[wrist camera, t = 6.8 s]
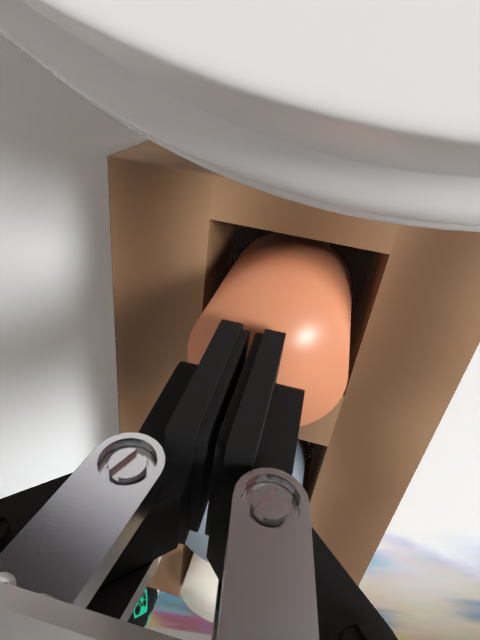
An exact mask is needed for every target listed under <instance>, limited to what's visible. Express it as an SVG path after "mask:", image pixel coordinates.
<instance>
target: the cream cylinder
mask: <svg viewBox="0 0 480 640" xmlns="http://www.w3.org/2000/svg"><path fill="white" fill-rule="evenodd" d="M217 586H218V578H217V576H216V574H215V572H214V570H213V568H212V567H211V565H210V563H209V562H207V561H205V560H204V559H202V558H200V557H199V556H198V555H196V554H195V553H193V556H192V559H191V562H190V565H189V568H188V571H187V574H186V577H185V580H184V582H183V585H182V589H181V595H182V598H183V600H184V602H185V603H186V605H187V606H188V607H189V608H190V609H191V610H192V611H193V612H195V613H196V614H197V615H199V616H200V617H202V618H204V619H206V620H207V621H209V622H212V623H213V621H214V612H215V603H216V594H217Z"/></svg>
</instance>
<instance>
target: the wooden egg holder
mask: <svg viewBox="0 0 480 640" xmlns="http://www.w3.org/2000/svg"><path fill="white" fill-rule="evenodd" d="M107 158H108V181H109V203H110V226H111V248H112V271H113V293H114V316H115V338H116V361H117V383H118V406H119V428H120V434H122V433H126V432H130V433H138V432H139V430H140V428H141V427H142V425H143V423H144V421H145V420H146V418H147V416H148V415H149V413H150V411H151V409H152V408H153V406H154V404H155V403H156V401H157V399H158V397H159V396H160V394H161V392H162V391H163V389H164V387H165V385H166V384H167V382H168V380H169V379H170V377H171V375H172V373H173V372H174V370H175V368H176V367H177V365H178V364H179V362H181V361H184V362H188V357H187V348H188V341H189V337H190V334H191V332H192V330H193V328H194V326H195V324H196V322H197V321H198V319H199V318H200V316H201V315H202V313H203V311H204V310H205V308H206V307H207V305H208V304H209V302H210V300H211V299H212V297H213V296H214V294H215V293H216V291H217V290H218V288H219V286H220V285H221V283H222V282H223V280H224V279H225V277H226V276H227V274H228V272H229V271H230V269H231V266H232V257H233V249H234V240H235V231H236V224H237V225H242V226H247V227H253V228H258V229H263V230H268V231H273V232H278V233H283V234H288V235H293V236H298V237H303V238H308V239H313V240H319V241H324V242H329V243H334V244H339V245H344V246H349V247H354V248H359V249H364V250H369V251H373V253H372V256H371V260H370V263H369V266H368V270H367V273H366V276H365V280H364V283H363V286H362V290H361V293H360V297H359V300H358V303H357V307H356V310H355V313H354V317H353V320H352V323H351V327H350V348H349V370H348V381H347V385H346V389H345V391H344V393H343V396H342V397H341V399H340V400H339V402H338V403H337V405H336V406H335V407H334V408H333V409H332V410H331V411H330V412H329V413H327V414H326V415H325V416H323V417H322V418H320V419H318V420H316V421H314V422H312V423H310V424H307V425H303V426H300V427H299V434H298V439H301V440H304V441H308V442H312V443H316V444H315V447H314V451H313V454H312V457H311V461H308V460H306V463H305V470H304V477H303V484H302V486H303V488H304V489H305V491H306V493H307V494H308V498H309V503H310V511H311V526H312V528H313V529H314V530H315V531H316V533H317V534H318V535H319V537H320V538H321V539H322V540H323V542H324V543H325V544H326V546H327V547H328V548H329V550H330V551H331V552H332V553H333V555H334V556H335V557H336V559H337V560H338V561H339V562H340V564H341V565H342V566H343V568H344V569H345V570H346V571H347V573H348V574H349V575H350V577H351V578H352V579H353V581H354V582H355V583H356V584H357V586H358V585H359V583H360V581H361V579H362V577H363V575H364V573H365V571H366V569H367V567H368V565H369V563H370V561H371V559H372V557H373V555H374V553H375V551H376V549H377V547H378V545H379V543H380V541H381V539H382V537H383V535H384V533H385V531H386V529H387V527H388V525H389V523H390V521H391V519H392V517H393V515H394V513H395V511H396V509H397V507H398V505H399V503H400V501H401V499H402V497H403V495H404V493H405V491H406V489H407V487H408V485H409V483H410V481H411V479H412V477H413V475H414V473H415V471H416V469H417V467H418V465H419V463H420V461H421V459H422V457H423V455H424V453H425V451H426V449H427V447H428V445H429V443H430V441H431V439H432V437H433V435H434V433H435V431H436V429H437V427H438V425H439V423H440V421H441V419H442V417H443V415H444V413H445V411H446V409H447V407H448V405H449V403H450V401H451V399H452V397H453V395H454V393H455V391H456V389H457V387H458V385H459V383H460V381H461V379H462V377H463V375H464V373H465V371H466V369H467V367H468V364H469V362H470V360H471V358H472V356H473V354H474V352H475V350H476V348H477V346H478V344H479V342H480V232H470V231H455V230H441V229H432V228H423V227H413V226H406V225H399V224H392V223H386V222H379V221H374V220H368V219H363V218H358V217H353V216H348V215H343V214H339V213H335V212H331V211H327V210H323V209H318V208H315V207H311V206H308V205H304V204H301V203H297V202H294V201H290V200H287V199H284V198H281V197H278V196H275V195H272V194H269V193H266V192H263V191H260V190H257V189H254V188H252V187H249V186H247V185H244V184H241V183H239V182H236V181H233V180H231V179H229V178H226V177H224V176H222V175H219V174H217V173H215V172H212V171H210V170H208V169H206V168H203V167H201V166H199V165H197V164H195V163H193V162H191V161H189V160H187V159H185V158H183V157H181V156H179V155H177V154H175V153H173V152H171V151H169V150H167V149H166V148H164V147H162V146H160V145H158V144H156V143H154V142H153V141H151V140H150V141H148V142H145V143H142V144H140V145H137V146H134V147H131V148H129V149H126V150H123V151H121V152H118V153H115V154H112V155H110V156H107ZM193 553H194V552H193V551H192V550H191V549H190V548H189V547H188V546H187V545H186V544H185V545H183V544H180V543H179V544H178V547H177V548H176V549H174V550H172V551H170V552H168V553H166V554H164V555H162V558H161V560H160V563H159V566H158V568H157V569H156V571H155V573H154V575H153V577H152V578H151V580H150V582H149V584H148V587H151V588H154V589H157V590H160V591H163V592H166V593H169V594H172V595H176V596H179V597H182V595H181V589H182V585H183V582H184V580H185V577H186V574H187V571H188V568H189V565H190V562H191V559H192V556H193Z"/></svg>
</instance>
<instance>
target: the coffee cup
mask: <svg viewBox="0 0 480 640" xmlns="http://www.w3.org/2000/svg"><path fill="white" fill-rule="evenodd" d="M0 32H1V33H2V34H3V35H4V36H6V37H7V38H8V39H9V40H10V41H12V42H13V43H14V44H15V45H16V46H18V47H19V48H20V49H21V50H23V51H24V52H25V53H27V54H28V55H29V56H30V57H32V58H33V59H34V60H36V61H37V62H38V63H39V64H40V65H42V66H43V67H44V68H45V69H47V70H48V71H49V72H51V73H52V74H53V75H54V76H56V77H57V78H58V79H60V80H61V81H62V82H64V83H65V84H66V85H67V86H69V87H70V88H71V89H73V90H74V91H75V92H77V93H78V94H80V95H81V96H82V97H84V98H85V99H87V100H88V101H89V102H91V103H92V104H94V105H95V106H97V107H98V108H99V109H101V110H102V111H104V112H106V113H107V114H109V115H110V116H112V117H113V118H115V119H116V120H118V121H119V122H121V123H122V124H124V125H126V126H127V127H129V128H131V129H132V130H134V131H136V132H137V133H139V134H141V135H142V136H144V137H146V138H147V139H149V140H151V141H153V142H154V143H156V144H158V145H160V146H162V147H164V148H166V149H167V150H169V151H171V152H173V153H175V154H177V155H179V156H181V157H183V158H185V159H187V160H189V161H191V162H193V163H195V164H197V165H199V166H201V167H203V168H206V169H208V170H210V171H212V172H215V173H217V174H219V175H222V176H224V177H226V178H229V179H231V180H233V181H236V182H239V183H241V184H244V185H247V186H249V187H252V188H254V189H257V190H260V191H263V192H266V193H269V194H272V195H275V196H278V197H281V198H284V199H287V200H290V201H294V202H297V203H301V204H304V205H308V206H311V207H315V208H318V209H323V210H327V211H331V212H335V213H339V214H343V215H348V216H353V217H358V218H363V219H368V220H374V221H379V222H386V223H392V224H399V225H406V226H413V227H423V228H432V229H441V230H455V231H470V232H480V0H0Z"/></svg>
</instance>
